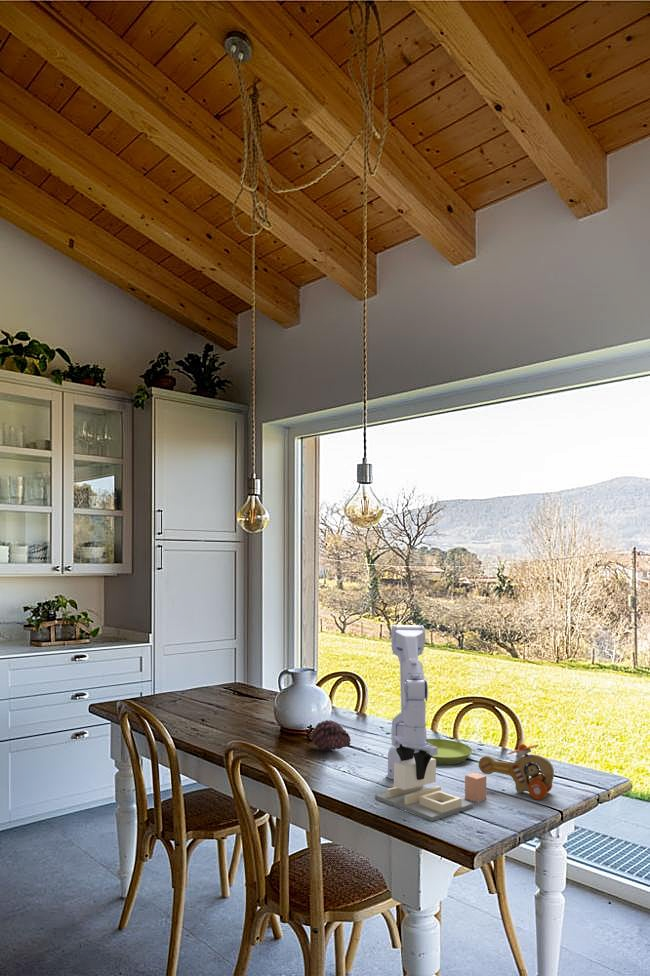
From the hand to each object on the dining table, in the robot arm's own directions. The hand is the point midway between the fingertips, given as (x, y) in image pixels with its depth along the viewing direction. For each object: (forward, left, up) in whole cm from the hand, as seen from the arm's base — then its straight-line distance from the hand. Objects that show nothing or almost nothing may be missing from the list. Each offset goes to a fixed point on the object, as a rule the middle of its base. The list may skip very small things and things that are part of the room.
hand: (414, 776), depth 200 cm
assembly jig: (+3, 0, -6) cm, 7 cm away
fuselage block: (0, 0, -2) cm, 2 cm away
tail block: (+9, +14, -6) cm, 18 cm away
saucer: (-23, +36, -6) cm, 43 cm away
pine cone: (-48, +11, -6) cm, 49 cm away
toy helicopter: (+13, +28, -6) cm, 32 cm away
